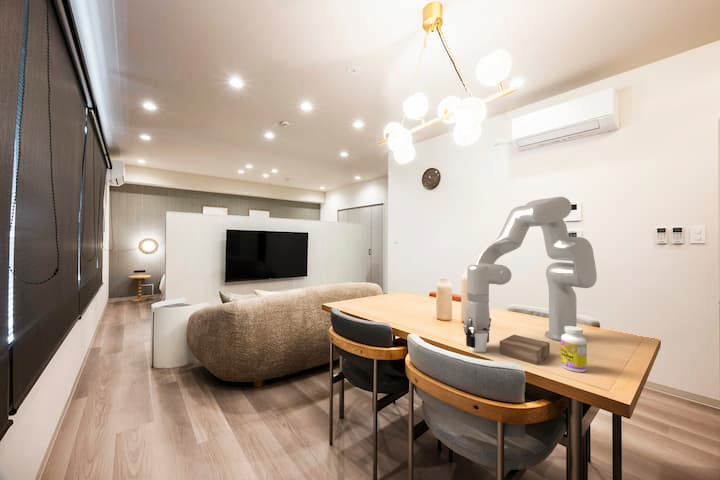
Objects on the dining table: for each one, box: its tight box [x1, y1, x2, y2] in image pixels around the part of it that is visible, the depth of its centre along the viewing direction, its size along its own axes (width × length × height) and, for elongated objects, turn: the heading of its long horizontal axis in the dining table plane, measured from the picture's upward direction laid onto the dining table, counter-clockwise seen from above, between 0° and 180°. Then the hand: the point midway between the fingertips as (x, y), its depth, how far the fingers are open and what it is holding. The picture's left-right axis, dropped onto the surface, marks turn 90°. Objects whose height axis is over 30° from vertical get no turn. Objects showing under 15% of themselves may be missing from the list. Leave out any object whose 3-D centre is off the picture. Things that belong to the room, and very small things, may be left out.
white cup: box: [469, 329, 488, 353], centre depth 109 cm, size 7×7×7 cm
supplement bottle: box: [560, 326, 588, 373], centre depth 92 cm, size 7×7×13 cm
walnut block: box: [499, 334, 551, 366], centre depth 103 cm, size 12×12×5 cm
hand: (477, 344), depth 109 cm, fingers open, 9 cm apart
